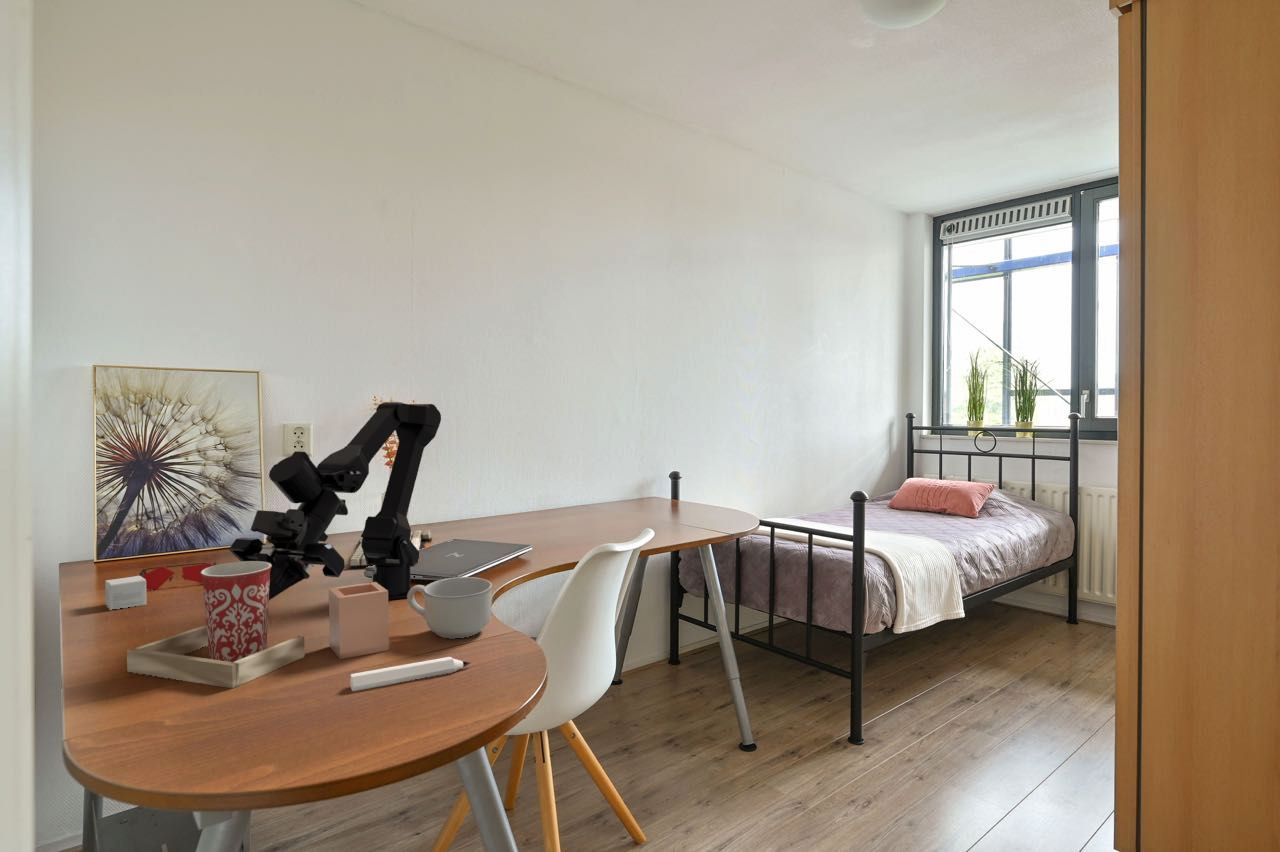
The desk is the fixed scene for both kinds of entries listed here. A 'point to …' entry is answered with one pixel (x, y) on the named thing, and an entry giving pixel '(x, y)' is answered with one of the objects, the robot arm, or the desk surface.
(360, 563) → the mechanical keyboard
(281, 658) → the bay
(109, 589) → the small box
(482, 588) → the teacup
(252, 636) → the mug
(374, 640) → the terracotta pot
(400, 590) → the robot arm
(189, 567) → the glasses
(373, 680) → the marker
